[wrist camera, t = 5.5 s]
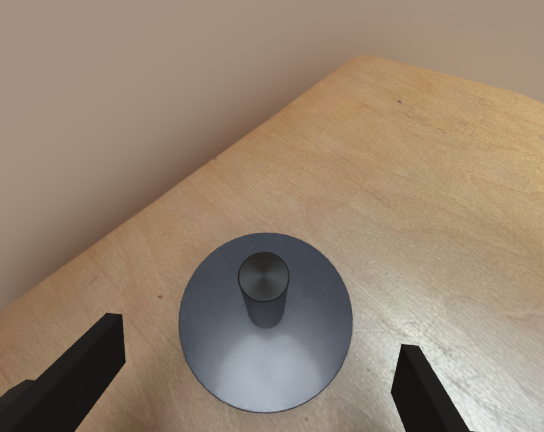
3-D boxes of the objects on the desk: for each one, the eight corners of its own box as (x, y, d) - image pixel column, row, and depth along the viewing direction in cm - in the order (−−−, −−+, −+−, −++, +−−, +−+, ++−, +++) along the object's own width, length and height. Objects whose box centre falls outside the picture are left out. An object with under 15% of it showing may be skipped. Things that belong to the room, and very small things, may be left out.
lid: (162, 400, 21) (90, 412, 13) (202, 232, 28) (172, 166, 19) (352, 422, 21) (409, 449, 12) (346, 244, 27) (380, 183, 19)
